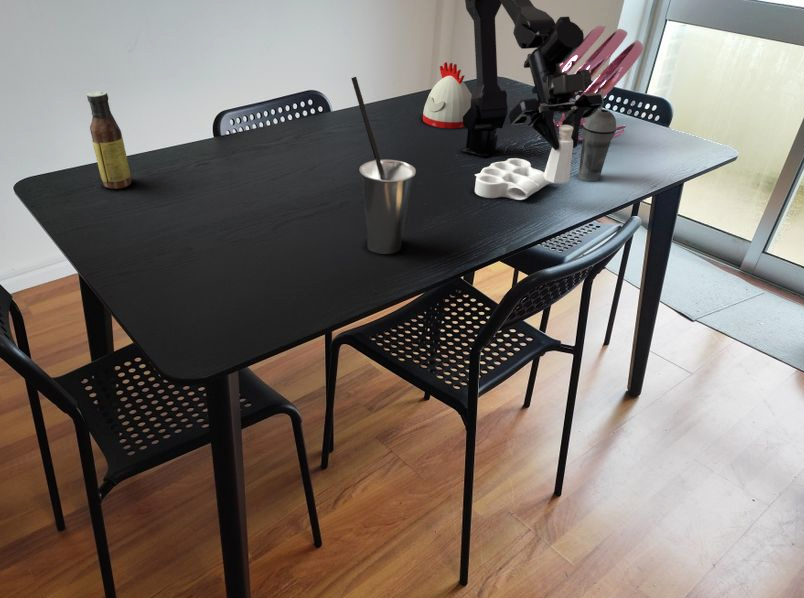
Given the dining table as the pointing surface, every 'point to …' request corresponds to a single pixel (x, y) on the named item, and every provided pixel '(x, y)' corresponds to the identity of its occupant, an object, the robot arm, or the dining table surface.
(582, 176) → the beverage cup
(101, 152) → the sauce bottle
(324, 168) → the dining table surface
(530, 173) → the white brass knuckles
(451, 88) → the kitchen timer
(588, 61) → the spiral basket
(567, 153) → the salt shaker
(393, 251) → the steel tumbler with stirrer
